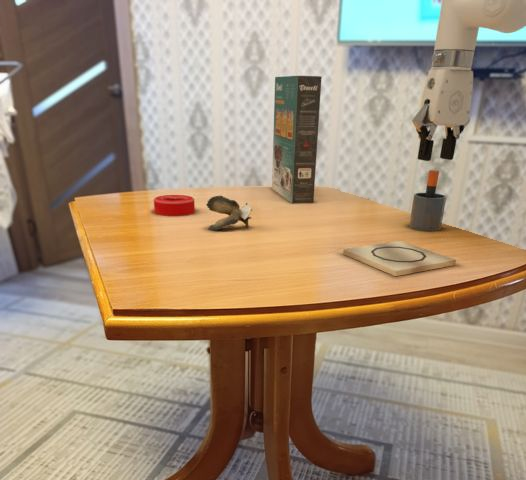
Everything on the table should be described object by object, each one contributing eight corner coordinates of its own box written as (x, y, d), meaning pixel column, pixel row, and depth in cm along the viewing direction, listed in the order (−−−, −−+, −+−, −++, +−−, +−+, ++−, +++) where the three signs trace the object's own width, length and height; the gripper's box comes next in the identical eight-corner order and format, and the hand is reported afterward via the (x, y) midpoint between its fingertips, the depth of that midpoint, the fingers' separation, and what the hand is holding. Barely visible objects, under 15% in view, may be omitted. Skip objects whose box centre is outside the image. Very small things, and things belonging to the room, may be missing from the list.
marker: (425, 223, 115) (434, 170, 110) (432, 225, 114) (441, 171, 108) (418, 224, 114) (427, 170, 109) (425, 226, 113) (434, 171, 108)
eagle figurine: (241, 216, 115) (203, 210, 112) (252, 192, 110) (211, 185, 106) (246, 241, 111) (207, 236, 108) (257, 218, 106) (216, 212, 102)
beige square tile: (399, 245, 100) (400, 240, 100) (455, 265, 89) (456, 259, 89) (342, 254, 94) (343, 248, 93) (395, 276, 83) (396, 270, 83)
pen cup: (424, 222, 118) (429, 191, 115) (447, 229, 113) (453, 197, 110) (402, 225, 115) (407, 193, 112) (424, 232, 110) (430, 199, 107)
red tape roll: (160, 217, 118) (159, 203, 116) (150, 208, 125) (149, 195, 124) (200, 214, 121) (199, 200, 120) (188, 206, 129) (187, 193, 128)
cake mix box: (313, 202, 137) (321, 76, 123) (291, 203, 136) (297, 75, 122) (291, 188, 156) (295, 77, 142) (271, 188, 155) (275, 76, 141)
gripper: (434, 59, 93) (418, 163, 101) (497, 63, 101) (477, 160, 109) (405, 60, 99) (392, 158, 107) (467, 64, 106) (450, 156, 115)
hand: (435, 158), depth 108 cm, fingers open, 5 cm apart
